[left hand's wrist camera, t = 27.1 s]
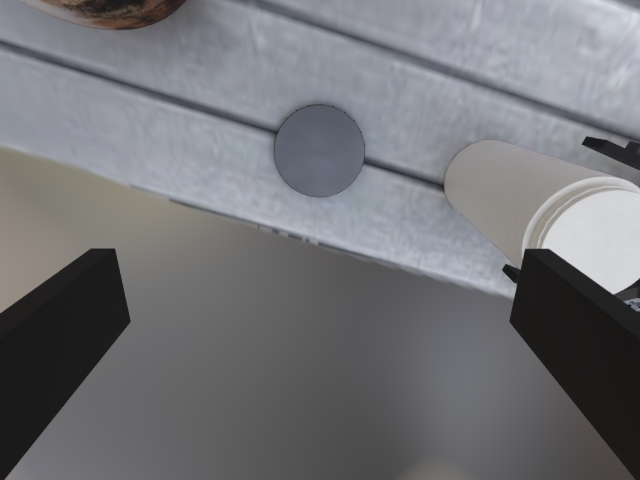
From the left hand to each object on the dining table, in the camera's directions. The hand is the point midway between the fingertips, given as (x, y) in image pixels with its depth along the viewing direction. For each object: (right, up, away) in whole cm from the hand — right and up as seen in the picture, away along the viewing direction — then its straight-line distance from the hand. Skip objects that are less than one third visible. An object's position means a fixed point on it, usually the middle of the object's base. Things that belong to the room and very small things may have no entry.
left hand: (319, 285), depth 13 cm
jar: (+18, +8, +29) cm, 34 cm away
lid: (0, +10, +26) cm, 28 cm away
